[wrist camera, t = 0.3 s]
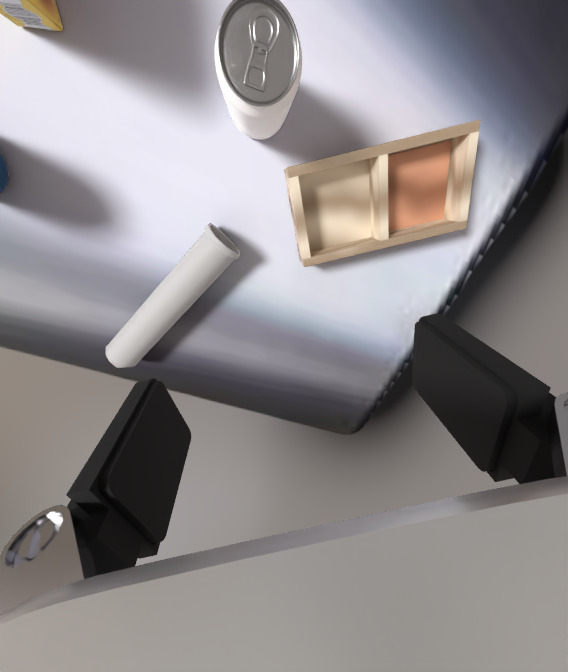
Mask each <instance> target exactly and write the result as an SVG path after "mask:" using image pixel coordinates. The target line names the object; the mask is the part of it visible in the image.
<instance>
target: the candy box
mask: <svg viewBox="0 0 568 672" xmlns="http://www.w3.org/2000/svg"><path fill="white" fill-rule="evenodd" d="M0 13H1V14H2V15H4V16H5V17H6V18H8V19H9V20H10V21H12V22H13V23H15V24H16V25H18V26H23V27H33V28H40V29H47V30H54V31H63V26H62V22H61V19H60V15H59V12H58V8H57V5H56V1H55V0H0Z"/></svg>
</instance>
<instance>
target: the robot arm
mask: <svg viewBox="0 0 568 672" xmlns="http://www.w3.org/2000/svg"><path fill="white" fill-rule="evenodd" d="M412 383H413V386H414V388H415V390H416V391H417V392H418V393H419V395H420V396H421V397H422V398H423V400H424V401H425V402H426V403H427V405H428V406H429V407H430V408H431V410H432V411H433V412H434V413H435V415H436V416H437V417H438V418H439V420H440V421H441V422H442V423H443V425H444V426H445V427H446V428H447V430H448V431H449V432H450V433H451V434H452V436H453V437H454V438H455V439H456V441H457V442H458V443H459V444H460V446H461V447H462V448H463V449H464V451H465V452H466V453H467V455H468V456H469V457H470V458H471V460H472V461H473V462H474V463H475V464H476V466H477V467H478V468H479V469H480V470H481V471H484V472H485V471H487V473H488V474H489V475H490V476H491V477H492V479H493V480H494V481H495V482H498V481H503V480H507V479H512V478H515V479H516V480H517V482H518V483H519V484H518V485H513V486H508V487H503V488H497V489H492V490H487V491H481V492H477V493H472V494H467V495H463V496H457V497H453V498H448V499H443V500H438V501H433V502H429V503H424V504H419V505H415V506H410V507H405V508H400V509H395V510H390V511H386V512H381V513H376V514H371V515H367V516H362V517H357V518H353V519H348V520H343V521H339V522H334V523H330V524H325V525H320V526H315V527H311V528H306V529H301V530H297V531H292V532H288V533H283V534H278V535H273V536H269V537H264V538H260V539H255V540H250V541H246V542H241V543H237V544H232V545H228V546H223V547H219V548H214V549H210V550H205V551H200V552H196V553H191V554H187V555H182V556H178V557H173V558H169V559H164V560H160V561H155V562H151V563H147V564H143V565H139V566H135V564H136V561H137V558H144V557H149V556H154V555H157V552H158V548H159V545H160V542H161V541H163V540H164V538H165V536H166V533H167V530H168V525H169V521H170V518H171V514H172V510H173V507H174V503H175V499H176V495H177V491H178V487H179V483H180V480H181V476H182V472H183V468H184V464H185V460H186V457H187V453H188V449H189V445H190V441H191V432H190V429H189V428H188V426H187V424H186V422H185V421H184V419H183V417H182V415H181V414H180V412H179V410H178V408H177V407H176V405H175V403H174V402H173V400H172V398H171V396H170V395H169V393H168V391H167V389H166V388H165V386H164V384H163V383H162V382H161V381H157V380H156V379H149V380H144V381H140V382H137V383H136V384H135V385H134V387H133V389H132V390H131V392H130V393H129V395H128V397H127V398H126V400H125V401H124V403H123V405H122V406H121V408H120V409H119V411H118V413H117V414H116V416H115V418H114V419H113V421H112V422H111V424H110V426H109V427H108V429H107V430H106V432H105V434H104V435H103V437H102V438H101V440H100V442H99V444H98V445H97V446H96V448H95V450H94V451H93V453H92V455H91V456H90V458H89V459H88V461H87V463H86V464H85V466H84V467H83V469H82V471H81V472H80V474H79V475H78V477H77V479H76V480H75V482H74V483H73V485H72V487H71V488H70V490H69V492H68V493H67V496H68V497H69V498H70V499H71V501H70V502H69V504H68V506H64V505H55V506H52V507H49V508H47V509H45V510H43V511H41V512H40V513H38V514H36V515H35V516H34V517H32V518H31V519H30V520H28V521H27V522H26V523H25V524H23V525H22V527H20V529H19V530H17V532H16V533H15V534H14V535H13V536H12V537H11V538H10V540H9V541H8V542H7V544H6V545H5V546H4V548H3V550H2V552H1V554H0V672H568V392H567V393H564V394H561V395H559V396H558V397H557V398H556V397H555V396H553V395H552V394H550V393H549V390H550V387H549V386H547V385H546V384H544V383H543V382H541V381H540V380H538V379H537V378H535V377H534V376H532V375H531V374H529V373H528V372H526V371H525V370H523V369H522V368H520V367H519V366H517V365H516V364H514V363H513V362H511V361H510V360H509V359H507V358H505V357H504V356H503V355H501V354H500V353H498V352H496V351H495V350H494V349H492V348H491V347H489V346H488V345H486V344H485V343H483V342H482V341H480V340H479V339H477V338H475V337H474V336H473V335H471V334H469V333H468V332H467V331H465V330H464V329H462V328H461V327H459V326H458V325H456V324H455V323H453V322H452V321H450V320H449V319H447V318H446V317H444V316H443V315H441V314H439V313H437V314H432V315H428V316H424V317H421V318H420V320H419V322H417V323H416V324H415V333H414V352H413V371H412Z"/></svg>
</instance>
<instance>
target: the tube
mask: <svg viewBox="0 0 568 672" xmlns="http://www.w3.org/2000/svg"><path fill="white" fill-rule="evenodd" d="M240 254H241V253H240V251H239V250H238V248H237V247H236V245H235V244H234V243H233V242H232V241H231V240H230V239H229V238H228V237H227V236H226V235H225V234H224V233H223V232H222V231H221V230H219V229H218V228H217V227H215V226H214V225H213V224H211V223H210V224H208V225H207V226H206V228H205V232H204V233H203V234H202V235H201V237H200V238H199V239H198V240H197V241H196V243H195V244H194V245H193V246H192V247H191V248H190V250H189V251H188V252H187V253H186V254H185V255H184V257H183V258H182V259H181V260H180V261H179V262H178V264H177V265H176V266H175V267H174V268H173V269H172V271H171V272H170V273H169V274H168V275H167V276H166V278H165V279H164V280H163V281H162V282H161V283H160V285H159V286H158V287H157V288H156V289H155V290H154V292H153V293H152V294H151V295H150V296H149V297H148V299H147V300H146V301H145V302H144V303H143V305H142V306H141V307H140V308H139V309H138V310H137V312H136V313H135V314H134V315H133V316H132V317H131V319H130V320H129V321H128V322H127V323H126V324H125V326H124V327H123V328H122V329H121V330H120V331H119V333H118V334H117V335H116V336H115V337H114V338H113V340H112V341H111V342H110V343H109V344H108V345H107V347H106V356H107V358H108V360H109V361H110V362H111V363H112V364H113V365H114V366H115V367H117V368H120V367H134V366H135V365H136V364H137V363H138V362H139V361H140V360H141V359H142V358H143V357H144V356H145V355H146V354H147V353H148V351H149V350H150V349H151V348H152V347H153V346H154V345H155V344H156V343H157V342H158V341H159V340H160V339H161V338H162V337H163V335H164V334H165V333H166V332H167V331H168V330H169V329H170V328H171V327H172V326H173V325H174V324H175V323H176V322H177V321H178V319H179V318H180V317H181V316H182V315H183V314H184V313H185V312H186V311H187V310H188V309H189V308H190V307H191V306H192V305H193V304H194V302H195V301H196V300H197V299H198V298H199V297H200V296H201V295H202V294H203V293H204V292H205V291H206V290H207V289H208V288H209V286H210V285H211V284H212V283H213V282H214V281H215V280H216V279H217V278H218V277H219V276H220V275H221V274H222V273H223V272H224V270H225V269H226V268H227V267H228V266H229V265H230V264H231V263H232V262H233V261H234V260H238V258H239V257H240Z"/></svg>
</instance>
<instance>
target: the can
mask: <svg viewBox="0 0 568 672" xmlns="http://www.w3.org/2000/svg"><path fill="white" fill-rule="evenodd" d="M215 67H216V72H217V76H218V80H219V83H220V86H221V90H222V93H223V96H224V99H225V101H226V104H227V107H228V110H229V113H230V115H231V118H232V120H233V122H234V123H235V125H236V126H237V128H238V129H239V130H240V131H241V132H242V133H243V134H245V135H246V136H248V137H250V138H253V139H266V138H269V137H271V136H273V135H274V134H275V133H276V132H277V131H278V130H279V129H280V128H281V126H282V125H283V123H284V121H285V119H286V116H287V114H288V112H289V110H290V107H291V105H292V102H293V100H294V98H295V95H296V93H297V90H298V87H299V83H300V79H301V72H302V52H301V46H300V41H299V38H298V33H297V29H296V26H295V24H294V21H293V19H292V17H291V15H290V13H289V12H288V10H287V9H286V8H285V6H284V5H283V4H282V3H281V2H280V1H279V0H233V1H232V2H231V3H230V4H229V6H228V7H227V9H226V10H225V12H224V14H223V17H222V19H221V22H220V25H219V28H218V31H217V35H216V40H215Z"/></svg>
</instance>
